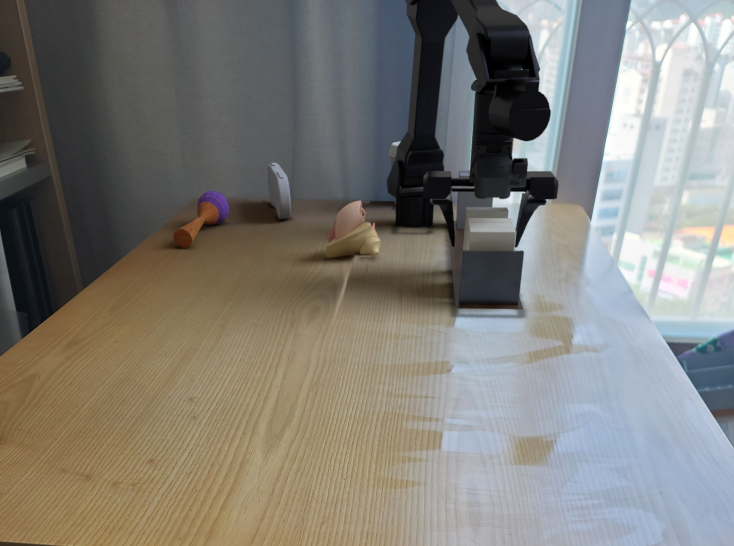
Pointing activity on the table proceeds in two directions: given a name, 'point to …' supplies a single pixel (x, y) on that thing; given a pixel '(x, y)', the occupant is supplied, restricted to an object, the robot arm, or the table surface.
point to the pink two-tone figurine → (352, 233)
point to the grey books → (468, 202)
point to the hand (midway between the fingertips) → (484, 246)
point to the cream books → (490, 234)
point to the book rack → (485, 276)
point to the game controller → (279, 190)
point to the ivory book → (483, 215)
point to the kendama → (203, 217)
